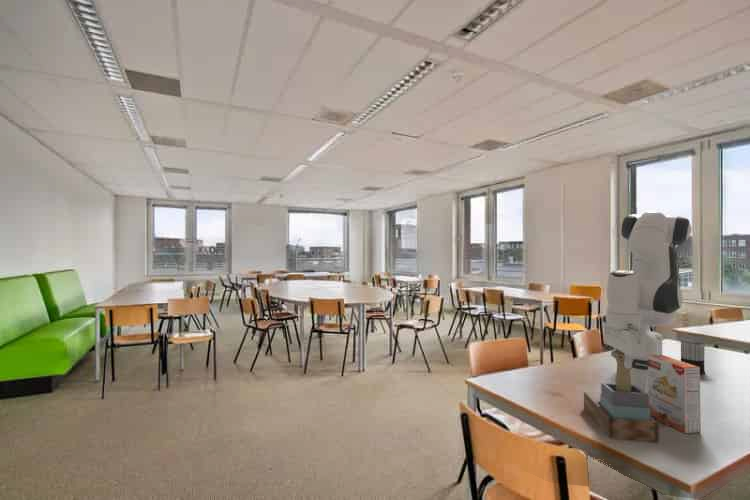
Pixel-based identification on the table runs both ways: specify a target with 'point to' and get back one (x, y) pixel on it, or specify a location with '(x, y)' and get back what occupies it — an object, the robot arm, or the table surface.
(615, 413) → the box
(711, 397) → the table surface
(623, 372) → the handle
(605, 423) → the bay
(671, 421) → the cracker box
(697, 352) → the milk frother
